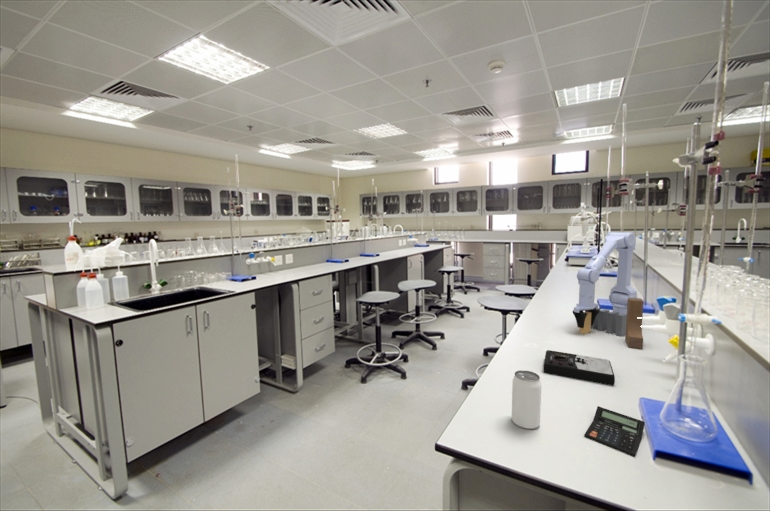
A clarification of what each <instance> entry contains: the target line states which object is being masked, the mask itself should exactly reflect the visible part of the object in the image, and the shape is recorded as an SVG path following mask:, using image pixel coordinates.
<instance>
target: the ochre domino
mask: <svg viewBox="0 0 770 511" xmlns="http://www.w3.org/2000/svg"><path fill="white" fill-rule="evenodd" d="M583 312H584V313H587V316H586V318H585V322H584V327H583V328H580V327H579V333H578V334H581V333H582V335H587V334H590V333H591V312H585V311H583ZM589 332H590V333H589ZM586 333H587V334H586Z"/></svg>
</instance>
